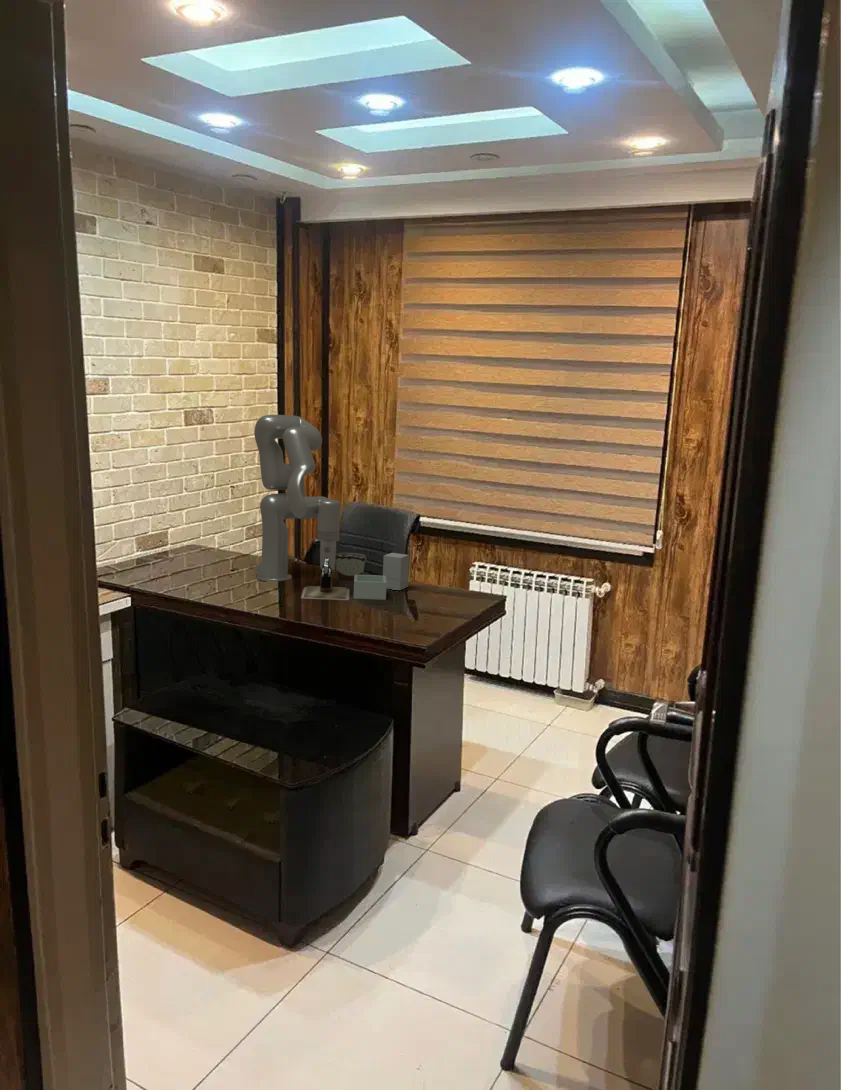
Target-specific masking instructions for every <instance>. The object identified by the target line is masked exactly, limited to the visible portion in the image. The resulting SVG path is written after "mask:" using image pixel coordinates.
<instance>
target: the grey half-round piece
mask: <svg viewBox="0 0 841 1090" xmlns="http://www.w3.org/2000/svg"><path fill="white" fill-rule="evenodd" d="M366 563H367V557H366V555H365V554H363V553H360V552H359V553H358V552H357V553H356V552H338V553H336V563H335V570H336V581H348V580H354V575H364V570H365V564H366Z"/></svg>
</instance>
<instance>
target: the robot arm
mask: <svg viewBox="0 0 841 1090" xmlns="http://www.w3.org/2000/svg"><path fill="white" fill-rule="evenodd" d="M253 434H254V439H255V440H254V441H255V443H256V447H257V450H258V455H259V465H260V466H259V467H260V475H261V478H260V479H261V483H262V485H263V487H264V488H265V489H266V490H270V491H280V490H281V491H284V490H286V492H285V493H284V492H283V493H281V492H280V493H279V492H278V493H271V494H267V495H265V496H264V497H262V499H261V501H260V504H259V505H260V506H259V509H260V515H261V526H262V531H261V532H262V535H261V536H262V538H261V539H262V541H261V564H256V565H255V566H254V568H253V570H254V571H258V574H257V575H256V578H257V579H258V580H259V581H262V582H282V581H283V582H284V581H289V580H291V579H292V577H293V576H292V575H291V574H290V573H288V570H289V566H288V565H289V535H290V534H289V528H288V526H287V524H286V523H285V520H290V519H291V520H293V519H299V520H308V519H309V520H310V519H317V528H316V529H317V530H316V540H317V541H319V542H320V543H319V545H320V546H319V558H320V559H319V563H320V569H321V570H322V571H321V574H322V576H321V575H320V584H321V588H330V587H331V576H330V573H331V574H333V571H334V570H336V554H337V542H339V541H340V525H341V523H340V522H341V502H340V501H339V500H337V499H331V498H328V497H326V496H322V495H321V496H319V495H318V496H307V495H306V486H305V477H306V476H308V475H310V474H312V473H313V472H314V471H315V469H316V467H317V465H316V463H315V462H316V461H315V460H314V457H313V453H312V452H313V451H314V452H315V451H318V450H319V449H320V448H321V446H322V444H323V437H322V434H321V432H320V431H319V429H318V428H317V427H316V426H315V425H313V424H312V423H311V422H309V421H307V420H306V419H304V418H303V417H301V416H299V415H298V416H297V415H291V414H290V415H287V414H286V415H285V414H266V415H263V416H261V417H260V418H258V419H257V421H256V423H255V425H254V432H253ZM276 439H282V442H283V446H284V449H285V452H286V455H287V456H286V457H287V459H288V462H289V463H285V461H284V452H283V450H282V447H281V446H280V444H279V443H278V442H277V441H276Z"/></svg>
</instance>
